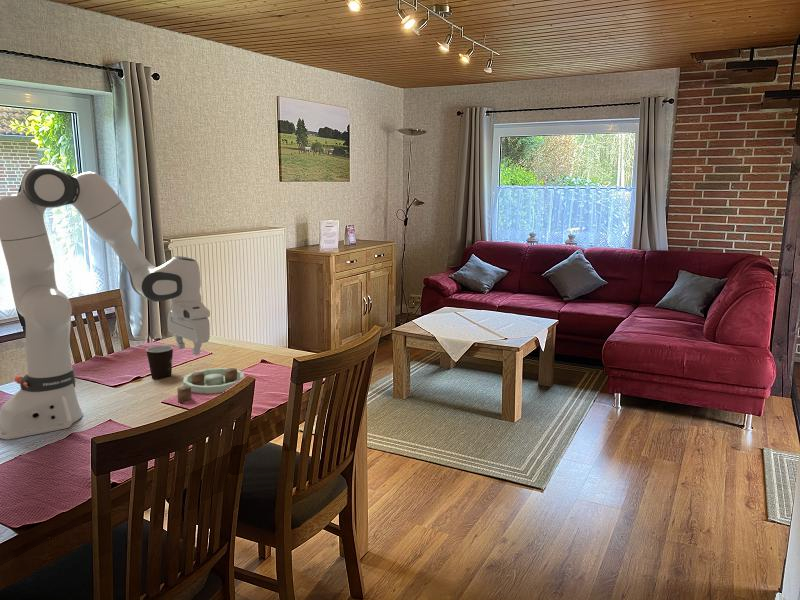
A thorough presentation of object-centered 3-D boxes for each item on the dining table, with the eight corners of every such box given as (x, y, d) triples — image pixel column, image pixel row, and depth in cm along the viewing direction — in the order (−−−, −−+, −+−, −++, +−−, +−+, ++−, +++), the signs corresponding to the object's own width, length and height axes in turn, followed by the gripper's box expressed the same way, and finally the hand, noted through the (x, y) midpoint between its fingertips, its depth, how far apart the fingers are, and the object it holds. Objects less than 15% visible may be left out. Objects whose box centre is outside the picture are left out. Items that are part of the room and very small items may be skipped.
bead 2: (195, 389, 202) (195, 376, 201) (189, 386, 204) (188, 373, 204) (207, 386, 205) (206, 373, 204) (201, 383, 207) (200, 370, 206)
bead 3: (229, 385, 206) (228, 372, 205) (222, 382, 208) (222, 370, 208) (239, 383, 209) (239, 370, 208) (233, 380, 211) (232, 367, 210)
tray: (202, 400, 195) (201, 391, 194) (172, 385, 209) (172, 376, 208) (256, 385, 209) (255, 376, 208) (225, 372, 222) (225, 363, 222)
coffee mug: (166, 381, 212) (164, 353, 210) (143, 379, 214) (140, 351, 212) (184, 370, 224) (182, 343, 222) (162, 369, 225) (160, 342, 223)
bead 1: (182, 405, 191) (181, 391, 190) (175, 402, 194) (174, 388, 193) (194, 402, 194) (193, 388, 193) (188, 398, 197) (187, 385, 196)
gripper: (161, 304, 199) (163, 346, 202) (193, 315, 186) (195, 360, 188) (179, 302, 204) (181, 343, 206) (213, 312, 190) (214, 356, 193)
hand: (188, 351), depth 197 cm, fingers open, 8 cm apart
